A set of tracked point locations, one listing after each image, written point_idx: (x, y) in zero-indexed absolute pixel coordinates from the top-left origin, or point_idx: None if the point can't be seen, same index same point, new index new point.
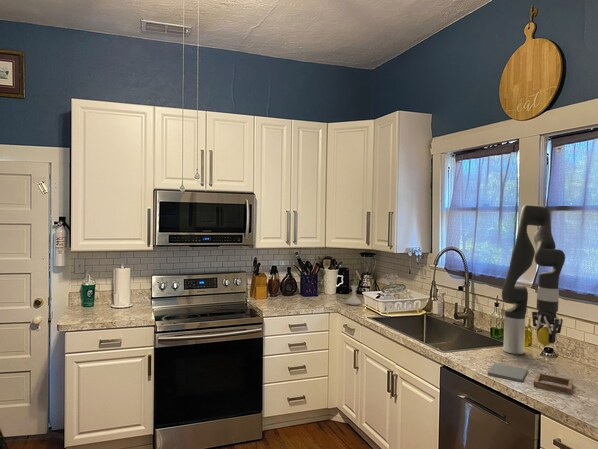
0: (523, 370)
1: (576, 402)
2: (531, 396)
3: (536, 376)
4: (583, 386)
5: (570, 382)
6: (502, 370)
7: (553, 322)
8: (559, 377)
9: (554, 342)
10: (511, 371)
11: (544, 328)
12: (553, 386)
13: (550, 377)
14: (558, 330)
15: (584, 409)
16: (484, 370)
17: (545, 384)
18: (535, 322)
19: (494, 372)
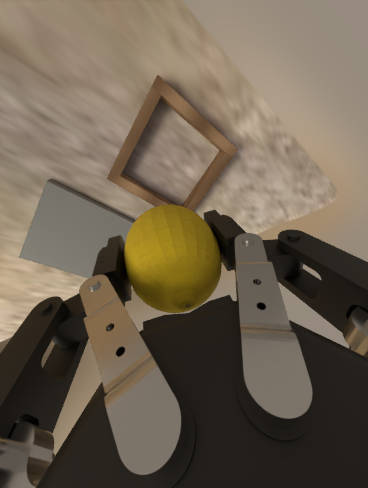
0: (73, 202)
1: (271, 166)
2: None
3: (147, 200)
4: (168, 36)
5: (187, 110)
6: (96, 257)
7: (290, 323)
8: (142, 122)
9: (214, 210)
10: (97, 239)
11: (197, 305)
12: (210, 185)
13: (133, 149)
14: (303, 251)
15: (301, 171)
16: None
17: (199, 201)
18: (75, 358)
19: None
